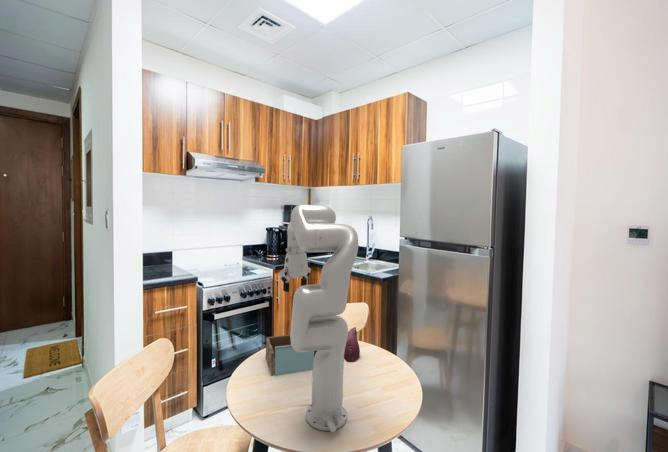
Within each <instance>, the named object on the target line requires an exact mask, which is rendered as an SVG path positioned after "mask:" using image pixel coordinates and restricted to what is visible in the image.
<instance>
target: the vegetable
mask: <svg viewBox="0 0 668 452" xmlns="http://www.w3.org/2000/svg"><path fill="white" fill-rule="evenodd" d="M360 350H361V348H360V344H359V340H358V336H357V327H356V326H354V327H352V328H351V329H349V330H348V337H347V342H346V346H345V352H344V361H345V362H347V363H353V362H356V361H358V360H359V359H360V355H361V354H360V353H361V352H360Z"/></svg>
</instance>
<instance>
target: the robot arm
mask: <svg viewBox="0 0 668 452" xmlns="http://www.w3.org/2000/svg"><path fill="white" fill-rule="evenodd" d="M335 212H336V211H334V209H332V207H330V206H328V205H324V204H304V203H303V204H302V203H301V204H298V205H295V206H294V208H293V209H292V210H291V213H290V221H289V222H288V224H287V230H286V231H287V232H286V233H287V247H286V248H285V252H286V254H285V257H284V265H283V267H284V268H282V269H281V270H280V271H279V272H278V276H279V279H280V280H281V282H282V283H283V287H282V288H283V289H282V290H283V292H286V293H289V292H290V280H291V279H297V278H300V286H299V287H297V289H296V290H295V292H294V295H293V297H292V298H293V299H292V310H291V320H290V332H289V333H290V334H289V335H290V341H291V346H292V348H293V349H294V350H295V351H297V352H309V351H316V350H318V351H317V352H316V354H315V357H314V360H313V370H312V372H311V374H312V375H311V376H312V379H311V405H310V406H309V407H307V409H306V413H305V419H306V422H307V423H308V424H309V425H310V426H311V427H312V428H313V429H316V430H318V431H324V432H325V431H326V432H330V433H335V432H336V431H337V430H338V429H340V428H341V427H343V426H344V425H345V423H346V422H347V419H348V413H347V410H346V409H345V407H344V406H343V398H344V397H343V391H344V366H345V364H344V363H345V359H344V352H345V346H346V342H347V337H348V332H349V325H348V323H347V321H346V320H345V319H344V318H343V317H341V316H339V315H342V314H343V313H344V312H345V311H346V309H347V302H348V297H349V296H348V295H349V291H350V290H349V288H350V280H351V273H352V269H353V267H354V264H355V261H356V260H357V256H358V251H359V236H358V232H357V231H356V229H355V228H354V227H352V226H351V225H349V224H344V223H336V220H337V216H336V213H335ZM332 252H333V254H332V255H331V256H330V257H329V258H328V259H327V260H326V262H325V263H324V264H323V266H322V268H321V272H320V273H321V274H320V281H319V282H318V283H314V284H307V281H308V279H309V276H310V274H311V271H312V268H311V267H309V263H308V256H307V253H332Z"/></svg>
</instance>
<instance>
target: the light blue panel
mask: <svg viewBox="0 0 668 452" xmlns="http://www.w3.org/2000/svg"><path fill="white" fill-rule="evenodd" d="M313 360H314V351H309V352H297V351H295V350H294V349H293V348H292V346H291V345H285V346H277V347H275V374H274V376H279V375H285V374H291V373H297V372H298V373H299V372H306V371H313Z"/></svg>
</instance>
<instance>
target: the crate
mask: <svg viewBox="0 0 668 452" xmlns="http://www.w3.org/2000/svg"><path fill="white" fill-rule="evenodd" d="M265 338H266V339H265V359H266V360H265V361H266V363H267V365H268V370H269V373H270V377H274V375H275V347H277V346H285V345H291V341H290V334H285V335H276V336H267V337H265ZM317 351H318V350H316V351H314V357H315V354H316V352H317Z"/></svg>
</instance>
